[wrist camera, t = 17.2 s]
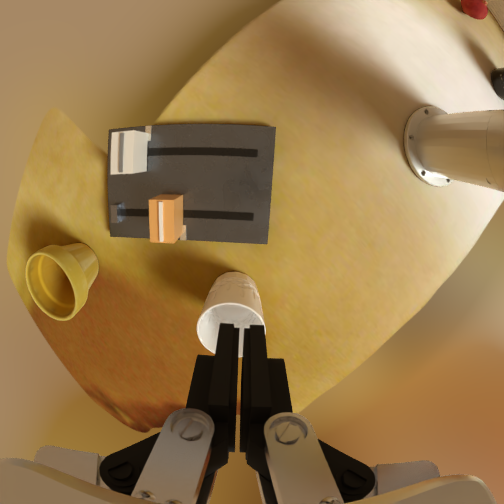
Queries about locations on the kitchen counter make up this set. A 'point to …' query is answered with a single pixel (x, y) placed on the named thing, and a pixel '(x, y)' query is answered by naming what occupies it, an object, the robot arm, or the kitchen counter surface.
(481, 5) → the onion
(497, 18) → the stack of papers
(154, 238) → the block
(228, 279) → the white cup
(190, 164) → the console board
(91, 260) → the plant pot
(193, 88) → the kitchen counter surface
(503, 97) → the supplement bottle
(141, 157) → the fader
